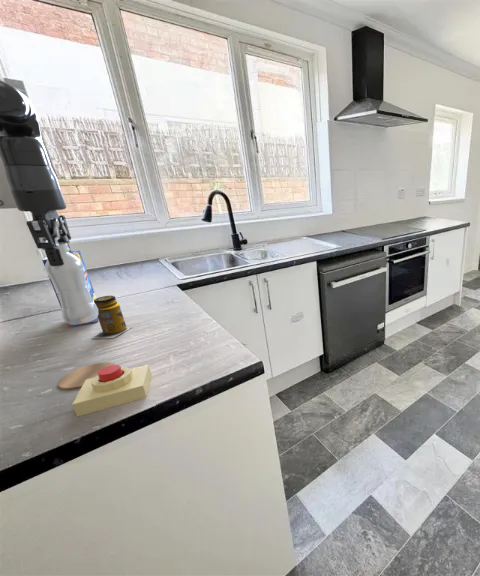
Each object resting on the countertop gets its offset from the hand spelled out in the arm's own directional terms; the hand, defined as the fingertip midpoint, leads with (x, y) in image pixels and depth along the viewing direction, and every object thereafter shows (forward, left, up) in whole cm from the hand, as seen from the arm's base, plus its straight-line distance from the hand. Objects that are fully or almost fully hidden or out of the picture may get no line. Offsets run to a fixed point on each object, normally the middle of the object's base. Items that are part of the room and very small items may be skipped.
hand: (62, 262), depth 73 cm
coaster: (-2, -3, -29) cm, 29 cm away
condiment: (-2, +25, -29) cm, 38 cm away
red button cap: (+6, -16, -24) cm, 30 cm away
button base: (+6, -16, -29) cm, 34 cm away
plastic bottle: (0, 0, -16) cm, 16 cm away
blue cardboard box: (-13, +44, -29) cm, 54 cm away
